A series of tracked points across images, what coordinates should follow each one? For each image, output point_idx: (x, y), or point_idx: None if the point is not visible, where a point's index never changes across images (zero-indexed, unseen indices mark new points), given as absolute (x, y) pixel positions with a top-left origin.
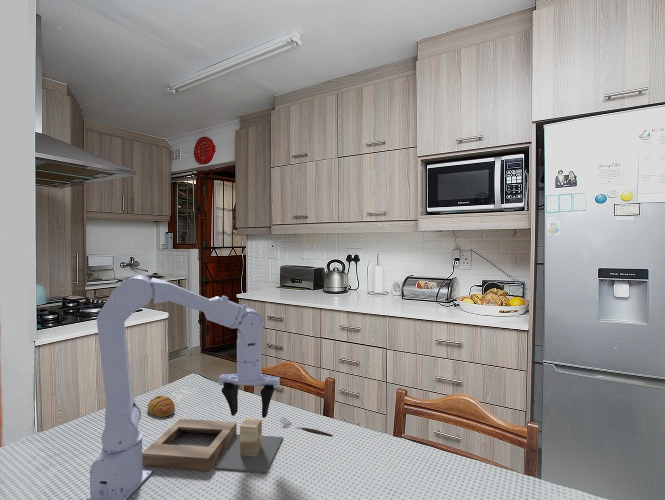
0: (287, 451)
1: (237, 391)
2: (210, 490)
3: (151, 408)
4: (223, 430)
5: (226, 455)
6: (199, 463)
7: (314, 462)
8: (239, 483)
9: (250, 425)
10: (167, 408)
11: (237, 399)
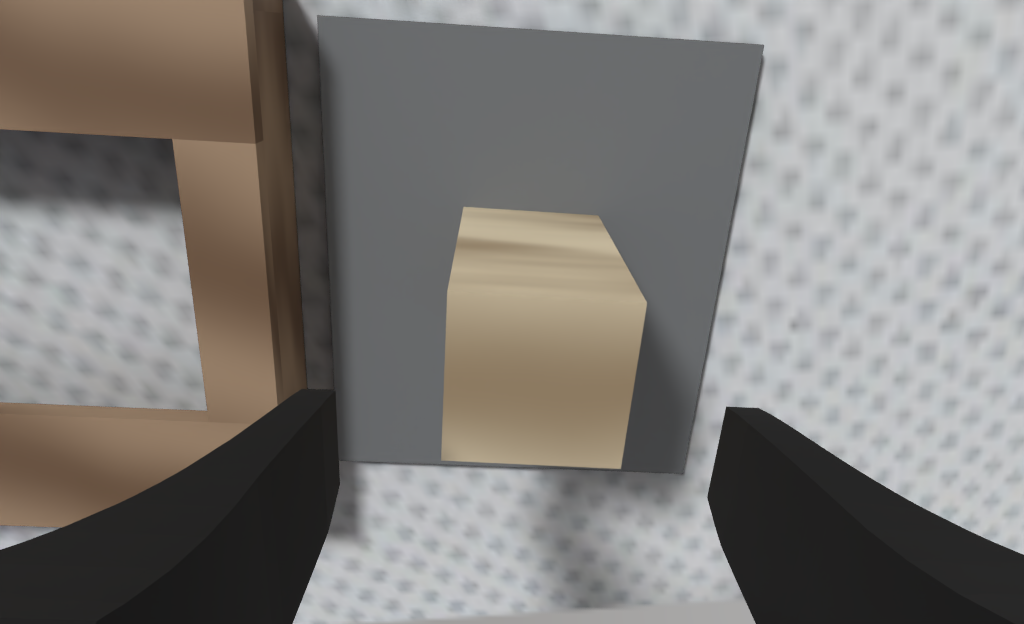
0: (805, 235)
1: (215, 560)
2: (404, 598)
3: None
4: (188, 158)
5: (356, 340)
6: None
7: (996, 348)
8: (541, 546)
9: (550, 443)
10: None
11: (275, 463)
